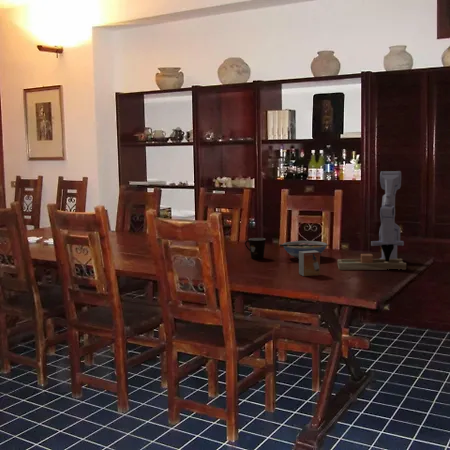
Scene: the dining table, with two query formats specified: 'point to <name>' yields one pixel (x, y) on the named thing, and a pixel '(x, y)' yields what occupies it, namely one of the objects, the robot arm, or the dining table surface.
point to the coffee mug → (256, 247)
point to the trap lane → (371, 264)
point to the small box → (309, 263)
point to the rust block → (366, 258)
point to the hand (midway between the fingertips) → (387, 260)
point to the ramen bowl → (303, 247)
